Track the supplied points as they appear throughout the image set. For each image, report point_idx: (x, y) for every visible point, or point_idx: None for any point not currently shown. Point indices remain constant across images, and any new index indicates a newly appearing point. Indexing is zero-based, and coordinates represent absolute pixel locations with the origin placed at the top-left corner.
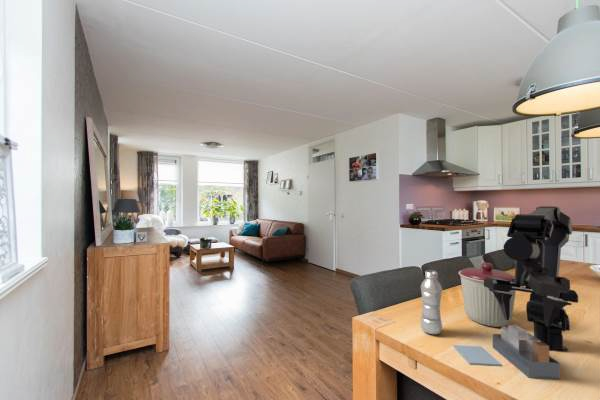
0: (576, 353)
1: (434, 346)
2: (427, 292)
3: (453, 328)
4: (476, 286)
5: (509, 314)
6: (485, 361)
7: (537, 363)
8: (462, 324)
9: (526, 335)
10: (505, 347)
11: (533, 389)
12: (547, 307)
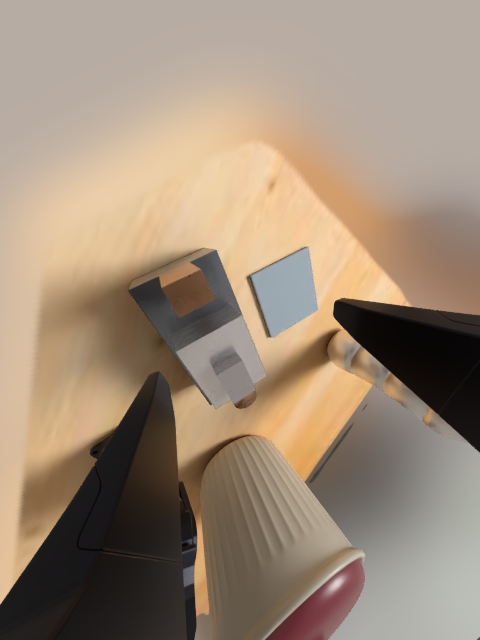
0: (71, 450)
1: (344, 288)
2: None
3: (298, 384)
4: (324, 530)
5: (364, 307)
6: (278, 271)
7: (191, 259)
8: (281, 411)
9: (211, 366)
10: None
11: (203, 189)
12: (158, 532)
